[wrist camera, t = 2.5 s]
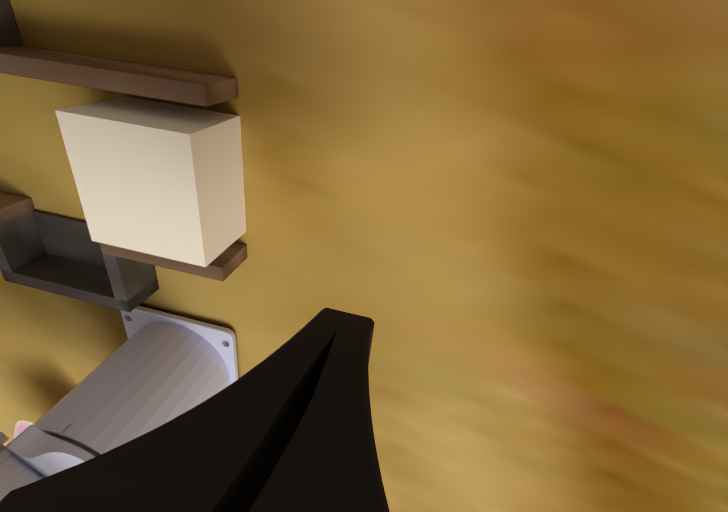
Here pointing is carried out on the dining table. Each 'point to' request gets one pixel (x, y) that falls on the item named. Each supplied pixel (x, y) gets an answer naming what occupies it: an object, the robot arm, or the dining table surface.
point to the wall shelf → (71, 236)
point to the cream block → (157, 176)
